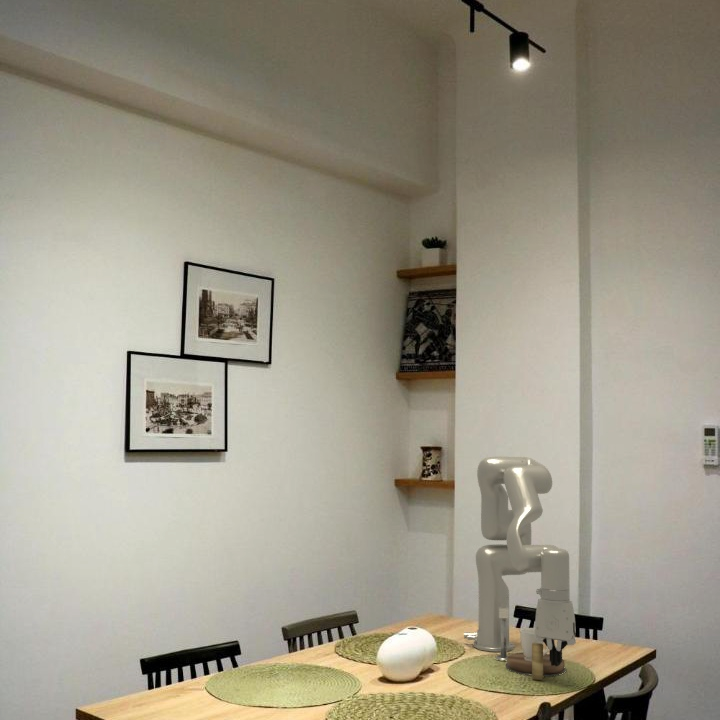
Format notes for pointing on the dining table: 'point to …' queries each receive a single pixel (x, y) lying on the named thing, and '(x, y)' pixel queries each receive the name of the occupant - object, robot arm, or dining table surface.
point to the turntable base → (531, 674)
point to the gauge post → (503, 632)
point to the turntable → (534, 663)
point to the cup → (529, 642)
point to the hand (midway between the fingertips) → (555, 664)
